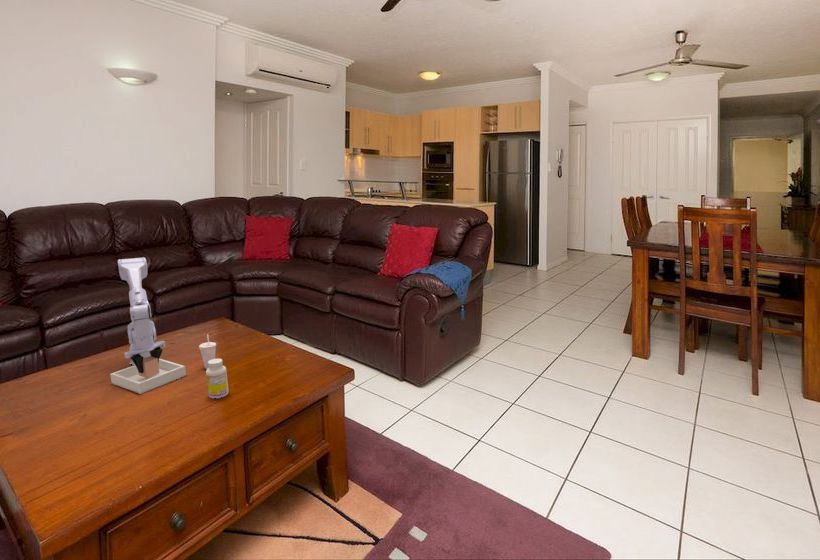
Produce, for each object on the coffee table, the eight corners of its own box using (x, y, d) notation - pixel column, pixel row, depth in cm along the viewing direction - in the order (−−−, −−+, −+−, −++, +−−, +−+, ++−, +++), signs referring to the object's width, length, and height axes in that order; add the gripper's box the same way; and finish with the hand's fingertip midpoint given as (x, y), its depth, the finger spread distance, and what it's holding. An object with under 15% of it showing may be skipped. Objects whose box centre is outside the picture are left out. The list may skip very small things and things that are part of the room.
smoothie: (212, 370, 182) (208, 337, 179) (197, 369, 183) (194, 336, 180) (221, 364, 188) (218, 332, 185) (207, 363, 189) (204, 331, 186)
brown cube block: (138, 375, 173) (136, 360, 171) (151, 370, 177) (149, 356, 176) (146, 377, 170) (144, 362, 169) (159, 373, 174) (157, 358, 173)
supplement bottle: (212, 391, 164) (208, 357, 162) (231, 390, 165) (227, 356, 162) (205, 399, 158) (201, 364, 155) (225, 398, 158) (221, 364, 156)
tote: (111, 383, 171) (110, 373, 170) (157, 366, 186) (156, 357, 185) (140, 394, 162) (138, 383, 161) (186, 375, 177) (185, 366, 177)
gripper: (130, 343, 162) (135, 379, 165) (168, 331, 175) (172, 365, 177) (119, 340, 166) (124, 375, 168) (157, 329, 178) (161, 361, 181)
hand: (148, 369), depth 173 cm, fingers closed on brown cube block, 5 cm apart
